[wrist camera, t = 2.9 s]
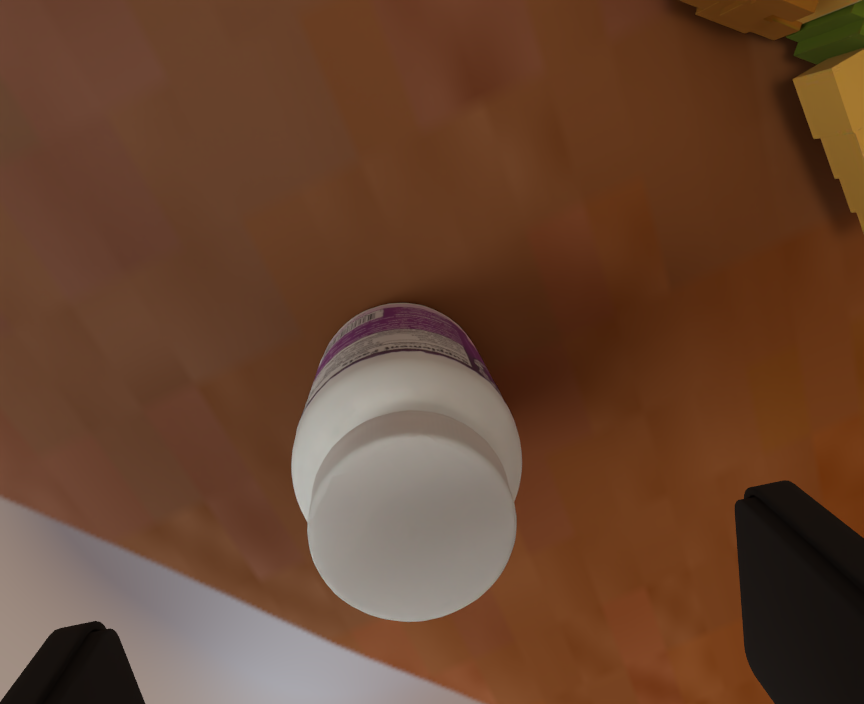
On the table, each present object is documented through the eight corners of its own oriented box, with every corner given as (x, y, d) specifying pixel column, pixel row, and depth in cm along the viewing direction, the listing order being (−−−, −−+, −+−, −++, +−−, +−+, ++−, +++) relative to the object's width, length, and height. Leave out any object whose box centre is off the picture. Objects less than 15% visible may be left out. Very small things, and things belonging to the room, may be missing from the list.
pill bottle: (478, 451, 22) (546, 652, 13) (322, 454, 22) (277, 663, 13) (483, 296, 21) (563, 398, 12) (316, 297, 20) (260, 403, 11)
